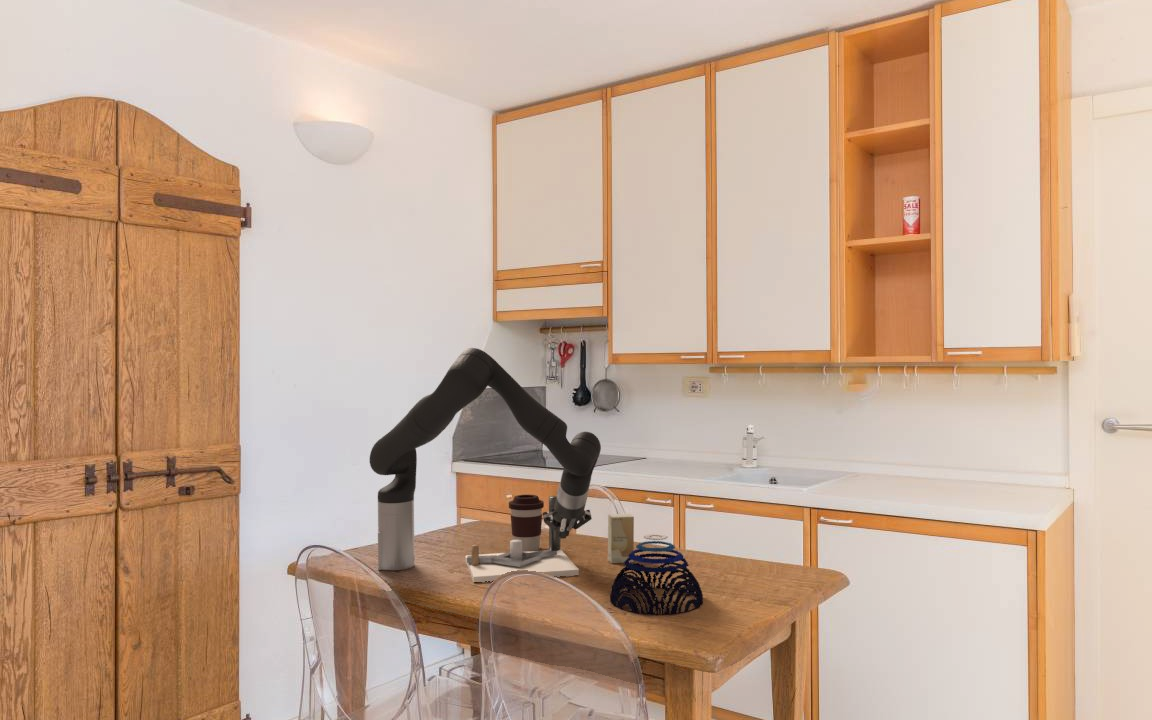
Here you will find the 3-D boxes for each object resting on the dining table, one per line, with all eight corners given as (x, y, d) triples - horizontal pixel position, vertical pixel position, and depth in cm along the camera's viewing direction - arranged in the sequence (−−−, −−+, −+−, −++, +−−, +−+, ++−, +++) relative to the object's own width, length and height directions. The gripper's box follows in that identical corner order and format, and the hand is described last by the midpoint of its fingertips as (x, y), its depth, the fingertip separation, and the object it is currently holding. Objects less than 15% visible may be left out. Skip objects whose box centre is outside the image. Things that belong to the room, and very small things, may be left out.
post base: (473, 583, 193) (473, 553, 193) (465, 561, 214) (465, 534, 214) (578, 575, 198) (578, 547, 198) (560, 554, 220) (560, 529, 220)
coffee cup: (528, 555, 220) (528, 500, 220) (501, 550, 226) (501, 497, 226) (551, 548, 228) (550, 495, 228) (524, 543, 234) (524, 492, 234)
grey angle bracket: (517, 570, 196) (516, 508, 196) (462, 562, 205) (462, 502, 205) (562, 553, 213) (562, 496, 213) (510, 546, 223) (510, 491, 223)
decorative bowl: (591, 602, 177) (590, 536, 177) (650, 583, 191) (649, 523, 191) (661, 622, 163) (661, 551, 163) (719, 601, 177) (719, 535, 177)
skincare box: (611, 564, 210) (610, 517, 210) (607, 560, 214) (606, 514, 214) (634, 562, 211) (634, 516, 211) (630, 558, 215) (630, 513, 215)
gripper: (547, 510, 192) (539, 549, 204) (600, 507, 195) (589, 546, 207) (543, 484, 198) (535, 524, 209) (595, 482, 200) (584, 522, 212)
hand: (562, 535), depth 208 cm, fingers closed
